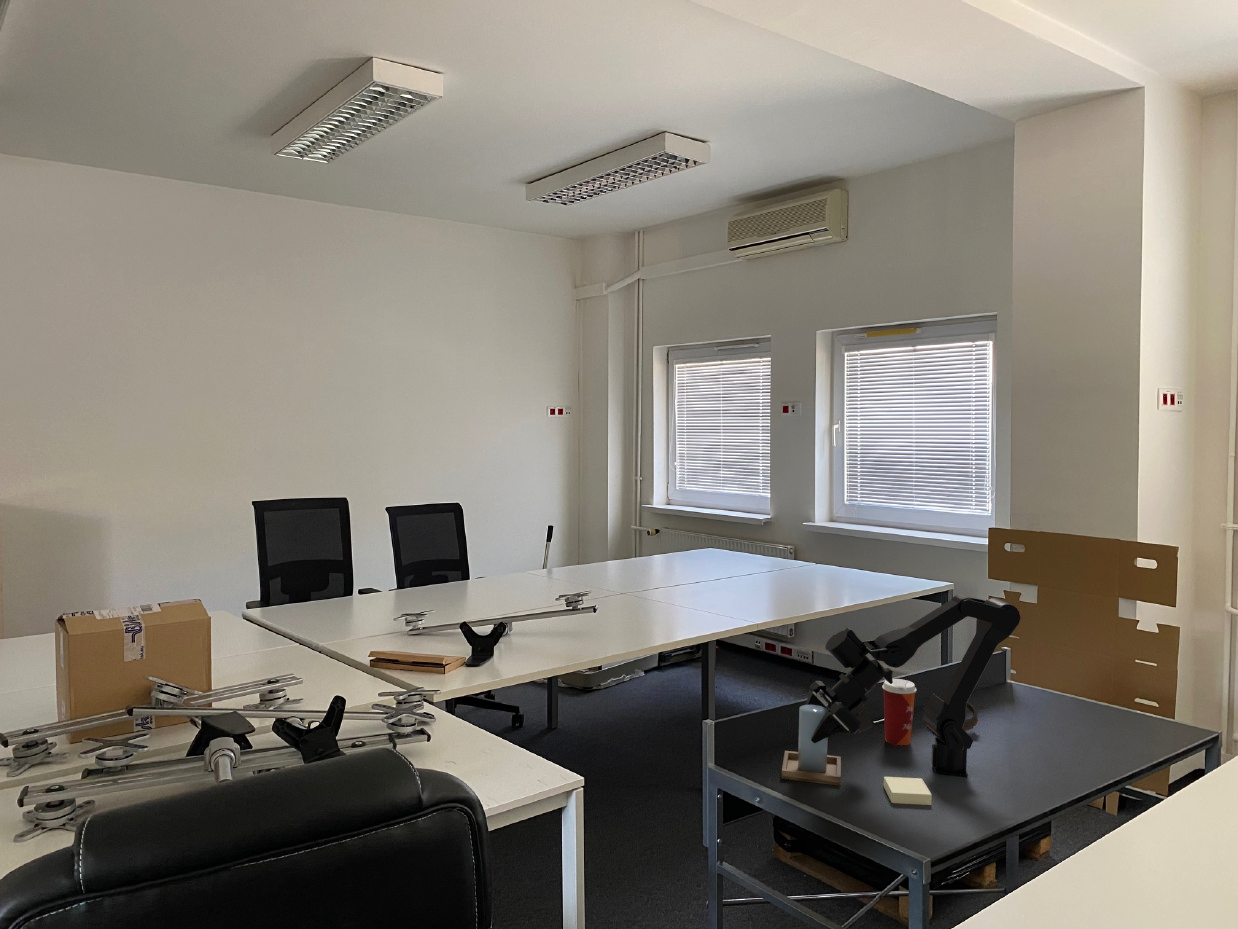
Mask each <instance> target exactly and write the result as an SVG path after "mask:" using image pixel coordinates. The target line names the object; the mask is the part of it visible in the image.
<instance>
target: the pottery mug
mask: <svg viewBox="0 0 1238 929" xmlns="http://www.w3.org/2000/svg"><path fill="white" fill-rule="evenodd" d="M966 709H967V710H968V711H970V712H971V713H972V717H971V718H966V720H965V723H964V726H963V730H964V731H965V732H966V731H969V730H971V729H972V730H973V729H974V727H976V725H977V723H978V722H979V718H978V712H977V709H976V707H975V706H974V705H973V704H971V702H969V701H967V705H966Z"/></svg>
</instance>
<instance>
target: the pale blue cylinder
mask: <svg viewBox="0 0 1238 929" xmlns="http://www.w3.org/2000/svg"><path fill="white" fill-rule="evenodd" d="M827 708H828V707H827ZM827 708H825V707H822V706H818V705H806V704H804V705H801V706H799V711H798V712H799V713H798V714H799V715H798V716H799V717H798V718H799V719H798V747H797V748H798V750H797V752H798V769H799V770H800V771H806V772H814V773H823V774H824V773H825V772H826V771H827V755H828V739H829V737H827V738H825V739H823V740H821V741H819V742H817V743H813V742H812V741H811V738H812V736H813V734H814V732H815V730H816V728H817V727H818V725H819V723H820V721H821V720H822V718H823V716H824V714H825V712H826V711H827V710H828V709H829V708H828V709H827Z"/></svg>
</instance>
